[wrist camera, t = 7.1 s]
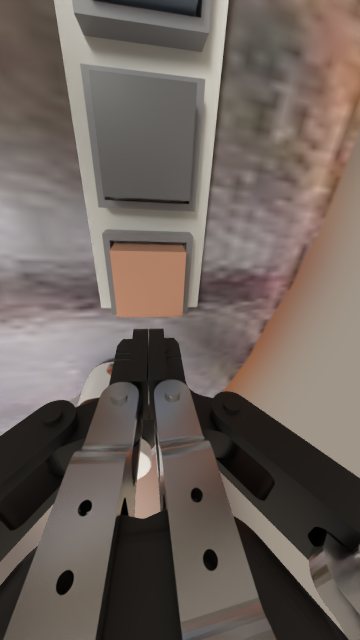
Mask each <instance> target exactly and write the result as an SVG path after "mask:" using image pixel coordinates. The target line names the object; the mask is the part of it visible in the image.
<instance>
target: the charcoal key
mask: <svg viewBox="0 0 360 640" xmlns="http://www.w3.org/2000/svg"><path fill="white" fill-rule="evenodd" d="M89 75H90V84H91V93H92V101H93V110H94V119H95V128H96V136H97V145H98V154H99V162H100V171H101V180H102V189H103V196H104V197H123V198H143V199H162V200H181V201H190V188H191V173H192V157H193V142H194V126H195V110H196V95H197V83H195V82H187V81H179V80H171V79H162V78H154V77H146V76H138V75H129V74H121V73H113V72H105V71H97V70H89Z"/></svg>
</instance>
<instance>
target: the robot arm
mask: <svg viewBox="0 0 360 640" xmlns="http://www.w3.org/2000/svg"><path fill="white" fill-rule="evenodd" d="M148 398H149V410H150V420H151V419H154V434H155V449H156V460H157V470H158V482H159V494H160V511H161V512H159V513H157V514H154V515H152V516H150V517H148V518H145V519H139V518H135V517H134V514H135V494H136V483H137V475H138V466H139V457H140V449H141V440H142V433H143V420H148ZM220 472H221V473H222V474H223V475H224V476H225V477H226V478H227V479H228V480H229V481H230V482H231V483H232V484H233V485H234V486H235V487H236V488H237V489H238V490H239V491H240V492H241V493H242V494H243V495H244V496H245V497H246V498H247V499H248V500H249V501H250V502H251V503H252V504H253V505H254V506H255V507H256V508H257V509H258V510H259V511H260V512H261V513H262V514H263V515H264V516H265V517H266V518H267V519H268V520H269V521H270V522H271V523H272V524H273V525H274V526H275V527H276V528H277V529H278V530H279V531H280V532H281V533H282V534H283V535H284V536H285V537H286V538H287V539H288V540H289V541H290V542H291V543H292V544H293V545H294V546H295V547H296V548H297V549H298V550H299V551H300V552H301V553H302V554H303V555H304V556H305V557H306V558H307V559H308V560H309V567H310V573H311V577H312V580H313V583H314V585H315V587H316V590H317V592H318V593H319V595H320V597H321V598H322V600H323V601H324V603H325V604H326V606H327V607H328V608H329V609H330V611H331V612H332V613H333V615H334V616H335V617H336V619H337V621H338V622H339V624H340V625H341V627H342V629H343V631H344V633H345V634H344V633H343V632H342V631H341V630H340V629H339V628H338V626H337V625H336V624H335V623H334V622H333V621H332V620H331V618H330V617H329V616H328V615H327V614H326V613H325V612H324V611H323V609H322V608H321V607H320V606H319V605H318V604H317V603H316V601H315V600H314V599H313V598H312V597H311V596H310V595H309V593H308V592H307V591H306V590H305V589H304V588H303V587H302V586H301V584H300V583H299V582H298V581H297V580H296V579H295V578H294V576H293V575H292V574H291V573H290V572H289V571H288V570H287V568H286V567H285V566H284V565H283V564H282V563H281V562H280V560H279V559H278V558H277V557H276V556H275V555H274V553H273V552H272V551H271V550H270V549H269V548H268V547H267V545H266V544H265V543H264V542H263V541H262V540H261V539H260V538H259V537H258V535H257V534H256V533H255V532H254V531H253V530H252V529H251V528H249V527H248V526H247V525H246V524H245V523H244V522H242V521H241V520H239V519H238V518H236V517H234V516H233V513H232V510H231V507H230V504H229V500H228V497H227V494H226V491H225V487H224V484H223V481H222V478H221V474H220ZM53 504H54V505H53ZM52 505H53V507H52V510H51V513H50V515H49V518H48V521H47V524H46V526H45V529H44V532H43V534H42V537H41V540H40V542H39V545H38V546H37V547H36V548H35V549H34V550H32V551H31V552H30V553H29V554H28V555H27V556H26V557H25V558H24V559H23V560H22V561H21V562H20V563H19V564H18V565H17V566H16V568H15V569H14V570H13V571H12V572H11V573H10V575H9V576H8V577H7V578H6V579H5V581H4V582H3V583H2V584H1V585H0V640H360V478H359V477H357V476H355V475H354V474H353V473H351V472H350V471H348V470H347V469H346V468H344V467H343V466H341V465H340V464H338V463H337V462H335V461H334V460H332V459H331V458H330V457H328V456H327V455H325V454H324V453H322V452H321V451H320V450H318V449H317V448H315V447H314V446H312V445H311V444H310V443H308V442H307V441H305V440H304V439H302V438H301V437H299V436H298V435H297V434H295V433H294V432H292V431H291V430H289V429H288V428H286V427H285V426H284V425H282V424H281V423H279V422H278V421H276V420H275V419H273V418H272V417H270V416H269V415H268V414H266V413H265V412H263V411H262V410H260V409H259V408H258V407H256V406H255V405H253V404H252V403H250V402H249V401H248V400H246V399H245V398H243V397H242V396H240V395H239V394H236V393H233V392H227V391H226V392H220V393H218V394H217V395H215V397H214V398H210V397H205V396H201V395H198V394H196V393H194V392H193V391H192V390H190V389H189V387H188V386H187V384H186V381H185V376H184V370H183V365H182V359H181V353H180V348H179V344H178V342H177V341H176V340H175V339H174V338H164V331H163V329H149V341H148V329H134V331H133V338H132V339H123V340H122V341H121V342H120V343H119V345H118V346H117V350H116V355H115V359H114V364H113V368H112V373H111V378H110V382H109V386H108V387H107V388H106V389H105V390H104V391H103V392H102V394H101V396H100V397H99V398H98V399H96V400H94V401H92V402H90V403H87V404H84V405H80V406H77V407H75V406H74V405H73V404H72V403H71V402H69V401H66V400H57V401H53V402H50V403H48V404H46V405H44V406H42V407H41V408H39V409H38V410H36V411H35V412H34V413H32V414H31V415H29V416H28V417H27V418H25V419H24V420H22V421H21V422H20V423H18V424H17V425H15V426H14V427H12V428H11V429H10V430H8V431H7V432H5V433H4V434H3V435H1V436H0V561H1V560H2V559H3V558H4V557H5V556H6V555H7V554H8V553H9V552H10V550H11V549H12V548H13V547H14V546H15V545H16V544H17V543H18V542H19V541H20V540H21V538H22V537H23V536H24V535H25V534H26V533H27V532H28V531H29V530H30V529H31V528H32V527H33V525H34V524H35V523H36V522H37V521H38V520H39V519H40V518H41V517H42V516H43V515H44V513H45V512H46V511H47V510H48V509H49V508H50V507H51V506H52ZM345 635H346V636H345Z"/></svg>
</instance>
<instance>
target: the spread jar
mask: <svg viewBox="0 0 360 640" xmlns="http://www.w3.org/2000/svg"><path fill="white" fill-rule="evenodd" d="M113 364H114V359H113V360H109V361H106V362H103V363H101V364H99V365H98V366H96V367H95V368H94V369H93V370H92V372H91V373H90V374H89V376H88V378H87V380H86V382H85V384H84V387H83V390H82V392H81V395H80V397H76V398H73V399H72V400H71V401H70V402H71V403H72V404H73V405H74V406H75V407H77V406H80V405H84V404H87V403H90V402H92V401H94V400H96V399H98V398H99V397H100V396H101V394H102V392H103V391H104V390H105V389H106V388H107V387H108V386H109V382H110V378H111V373H112V368H113ZM154 446H155V434H154V419H151V420H150V410H149V398H148V420H143V433H142V440H141V449H140V457H139V466H138V475H137V479H139V478H141V477H143V476H144V475H145V474H146V473H148V471H149V470H150V468H151V449H152V448H153V447H154Z"/></svg>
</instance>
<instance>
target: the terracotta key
mask: <svg viewBox="0 0 360 640" xmlns="http://www.w3.org/2000/svg"><path fill="white" fill-rule="evenodd" d="M110 258H111V267H112V276H113V284H114V293H115V302H116V310H117V317H182V313H183V297H184V281H185V266H186V251H185V249H184V247H183V245H157V244H119V243H114V245H113V246H112V248H111V249H110Z"/></svg>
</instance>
